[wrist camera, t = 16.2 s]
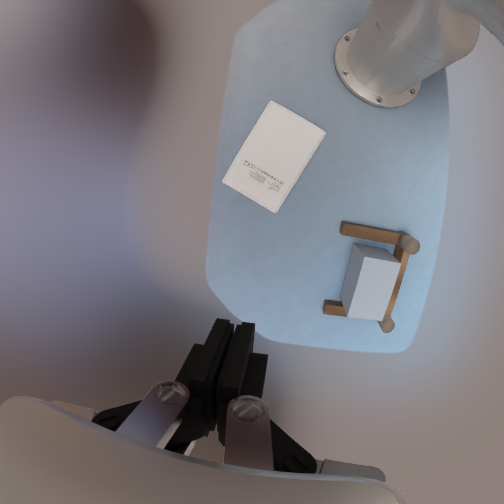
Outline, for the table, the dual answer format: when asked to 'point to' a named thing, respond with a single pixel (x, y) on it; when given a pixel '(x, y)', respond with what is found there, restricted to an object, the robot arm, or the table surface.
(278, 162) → the external hard drive
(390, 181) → the table surface
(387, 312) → the frame
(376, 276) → the tall white block
